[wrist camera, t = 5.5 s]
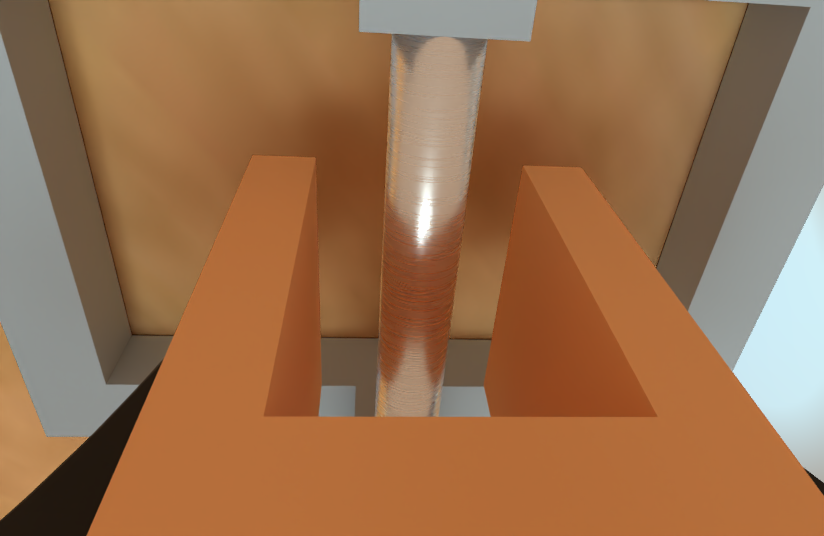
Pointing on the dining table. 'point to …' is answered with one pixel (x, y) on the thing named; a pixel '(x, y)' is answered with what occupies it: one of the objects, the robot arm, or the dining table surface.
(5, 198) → the grey rod frame
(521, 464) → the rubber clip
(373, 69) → the dining table surface
